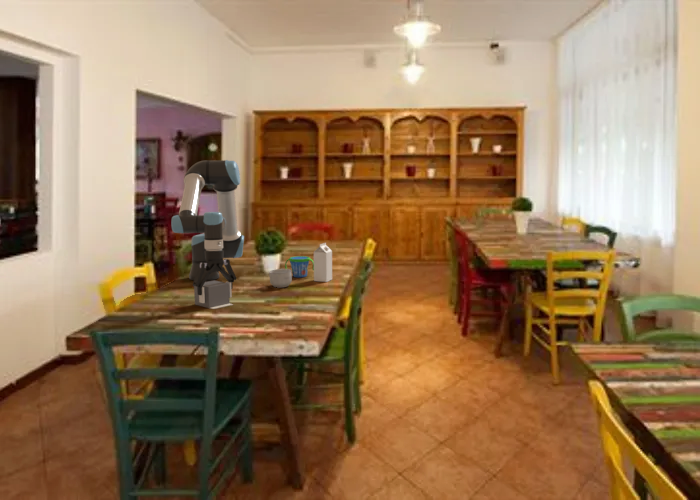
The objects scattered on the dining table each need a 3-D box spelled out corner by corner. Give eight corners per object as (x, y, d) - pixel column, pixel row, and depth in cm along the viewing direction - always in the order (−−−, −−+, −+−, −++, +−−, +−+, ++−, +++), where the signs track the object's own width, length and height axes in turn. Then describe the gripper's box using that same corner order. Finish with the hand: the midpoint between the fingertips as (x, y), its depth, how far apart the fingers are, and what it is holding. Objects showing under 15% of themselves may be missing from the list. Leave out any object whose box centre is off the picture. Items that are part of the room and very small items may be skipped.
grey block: (194, 304, 244) (194, 283, 243) (215, 300, 252) (214, 280, 251) (209, 308, 238) (208, 287, 237) (229, 303, 245) (228, 283, 244)
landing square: (198, 305, 243) (198, 304, 243) (218, 301, 250) (218, 300, 250) (213, 309, 236) (213, 308, 236) (233, 304, 244) (233, 304, 244)
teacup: (287, 289, 275) (287, 272, 274) (266, 288, 277) (265, 271, 276) (296, 283, 289) (296, 267, 287) (275, 282, 291) (275, 267, 290)
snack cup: (282, 277, 304) (282, 258, 303) (289, 274, 314) (288, 255, 313) (310, 279, 300) (310, 259, 299) (316, 275, 310) (316, 256, 309)
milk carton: (313, 281, 294) (313, 244, 292) (319, 278, 301) (319, 242, 298) (326, 282, 292) (326, 244, 289) (332, 279, 298) (332, 243, 295)
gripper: (193, 253, 228) (195, 306, 231) (243, 247, 247) (245, 296, 250) (182, 252, 233) (184, 303, 236) (232, 245, 252) (234, 293, 255)
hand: (215, 299), depth 243 cm, fingers open, 13 cm apart
